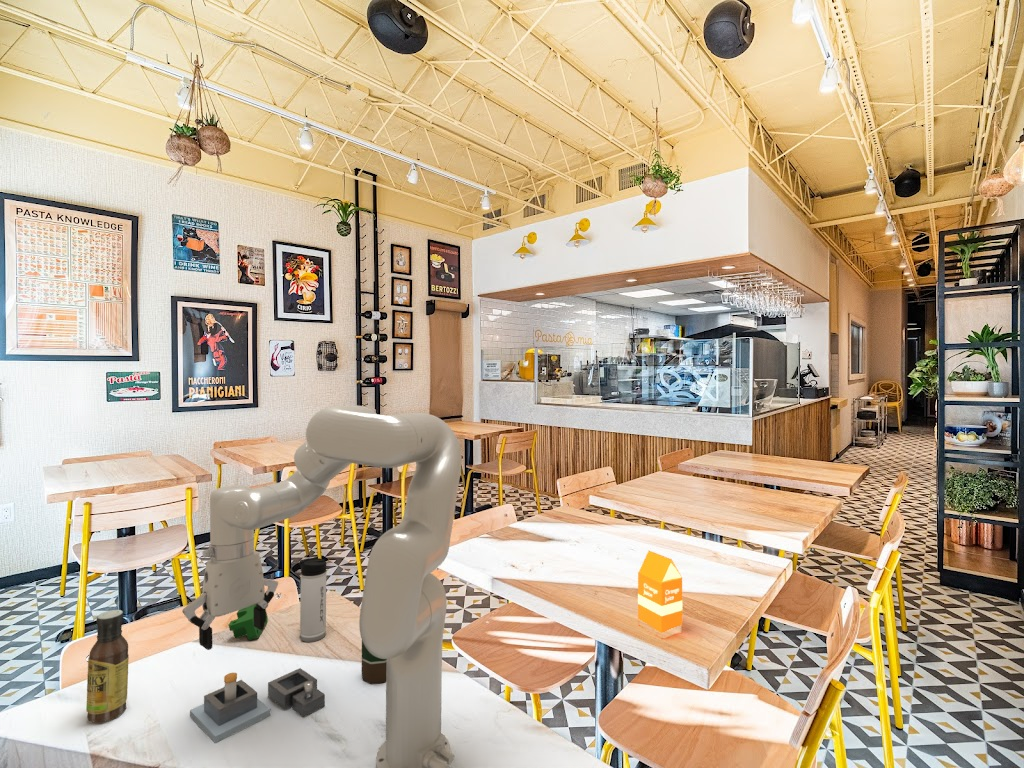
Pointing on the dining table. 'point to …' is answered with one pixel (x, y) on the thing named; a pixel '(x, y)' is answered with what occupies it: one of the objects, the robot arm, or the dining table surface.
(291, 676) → the link
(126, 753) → the dining table surface
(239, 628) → the green mounting bracket
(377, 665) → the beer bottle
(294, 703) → the knobbed metal block
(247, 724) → the keeper
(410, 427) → the robot arm
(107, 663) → the sauce bottle
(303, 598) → the travel mug
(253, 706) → the end link
